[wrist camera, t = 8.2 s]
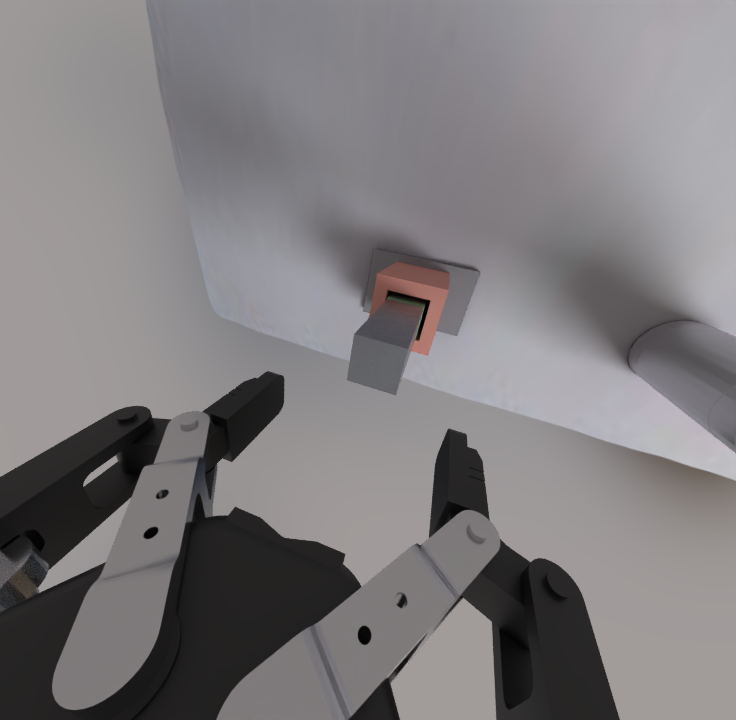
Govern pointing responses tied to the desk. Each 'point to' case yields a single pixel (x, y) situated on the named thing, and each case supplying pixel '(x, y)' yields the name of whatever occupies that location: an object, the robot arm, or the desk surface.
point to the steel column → (386, 343)
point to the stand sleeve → (422, 291)
